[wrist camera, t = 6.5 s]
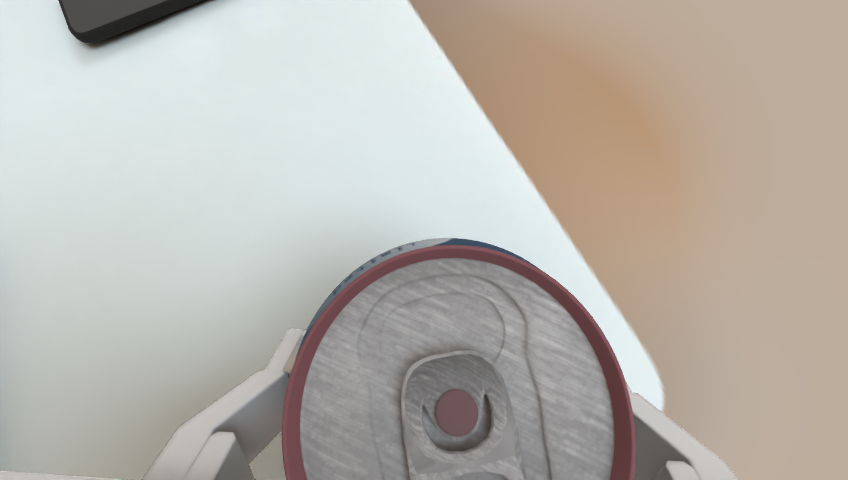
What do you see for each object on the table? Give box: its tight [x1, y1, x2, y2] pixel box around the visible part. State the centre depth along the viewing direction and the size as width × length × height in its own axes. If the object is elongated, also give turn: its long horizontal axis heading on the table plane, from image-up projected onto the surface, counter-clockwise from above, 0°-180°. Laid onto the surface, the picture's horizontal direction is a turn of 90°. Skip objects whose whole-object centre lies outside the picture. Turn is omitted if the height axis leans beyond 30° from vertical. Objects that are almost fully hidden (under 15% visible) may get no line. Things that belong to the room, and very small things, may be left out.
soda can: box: [282, 238, 636, 480], centre depth 11 cm, size 7×7×12 cm
